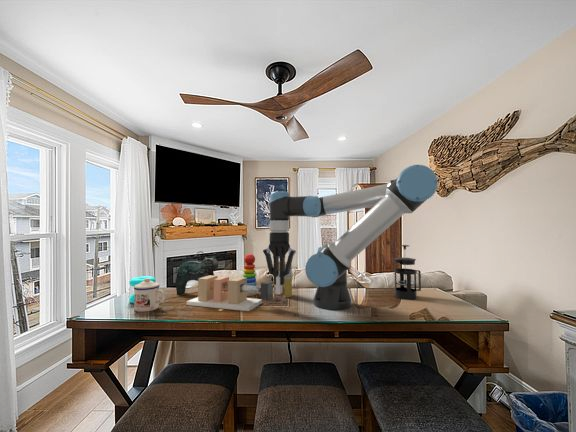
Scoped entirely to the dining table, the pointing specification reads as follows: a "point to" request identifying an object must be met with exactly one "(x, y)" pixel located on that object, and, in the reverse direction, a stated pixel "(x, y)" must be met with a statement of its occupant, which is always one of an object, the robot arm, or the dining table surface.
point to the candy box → (286, 283)
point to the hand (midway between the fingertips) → (279, 293)
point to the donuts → (137, 281)
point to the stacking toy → (250, 272)
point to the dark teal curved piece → (194, 271)
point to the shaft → (257, 289)
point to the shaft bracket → (223, 294)
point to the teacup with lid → (147, 296)
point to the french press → (402, 291)
